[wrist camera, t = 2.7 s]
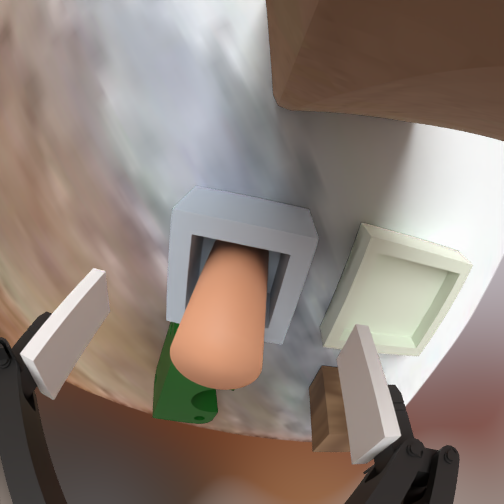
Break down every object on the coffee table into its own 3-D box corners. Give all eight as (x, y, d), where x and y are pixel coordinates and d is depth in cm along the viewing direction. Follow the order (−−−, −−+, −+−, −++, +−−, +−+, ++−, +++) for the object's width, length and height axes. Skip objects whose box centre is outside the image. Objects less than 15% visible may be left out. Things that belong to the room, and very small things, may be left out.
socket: (185, 281, 23) (166, 320, 19) (195, 185, 19) (172, 208, 15) (281, 301, 23) (282, 344, 19) (309, 209, 20) (319, 239, 15)
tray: (319, 326, 24) (323, 346, 22) (361, 222, 20) (371, 236, 17) (410, 338, 24) (418, 356, 22) (458, 250, 20) (472, 265, 18)
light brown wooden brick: (308, 388, 28) (312, 451, 21) (321, 365, 27) (329, 434, 20) (342, 390, 29) (350, 451, 21) (357, 369, 27) (370, 433, 20)
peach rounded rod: (209, 272, 21) (170, 378, 12) (216, 222, 20) (169, 318, 11) (262, 283, 21) (252, 395, 13) (274, 234, 20) (272, 340, 11)
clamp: (208, 351, 33) (204, 424, 28) (159, 341, 31) (151, 417, 26) (249, 316, 24) (247, 423, 19) (179, 301, 22) (167, 416, 17)
